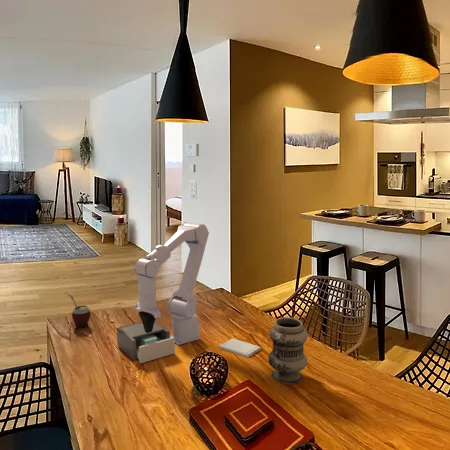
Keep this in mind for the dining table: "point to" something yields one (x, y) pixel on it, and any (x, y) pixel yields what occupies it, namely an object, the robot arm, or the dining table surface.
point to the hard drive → (240, 347)
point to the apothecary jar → (287, 350)
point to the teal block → (147, 339)
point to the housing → (134, 331)
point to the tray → (154, 349)
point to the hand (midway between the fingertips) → (148, 331)
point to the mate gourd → (80, 315)
